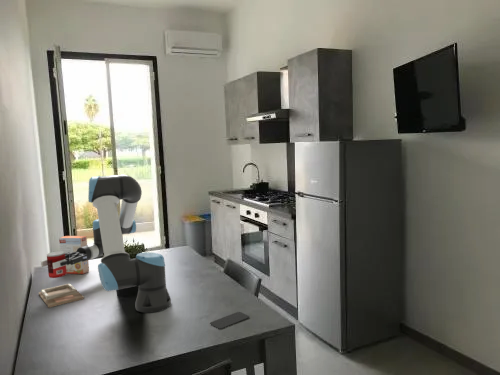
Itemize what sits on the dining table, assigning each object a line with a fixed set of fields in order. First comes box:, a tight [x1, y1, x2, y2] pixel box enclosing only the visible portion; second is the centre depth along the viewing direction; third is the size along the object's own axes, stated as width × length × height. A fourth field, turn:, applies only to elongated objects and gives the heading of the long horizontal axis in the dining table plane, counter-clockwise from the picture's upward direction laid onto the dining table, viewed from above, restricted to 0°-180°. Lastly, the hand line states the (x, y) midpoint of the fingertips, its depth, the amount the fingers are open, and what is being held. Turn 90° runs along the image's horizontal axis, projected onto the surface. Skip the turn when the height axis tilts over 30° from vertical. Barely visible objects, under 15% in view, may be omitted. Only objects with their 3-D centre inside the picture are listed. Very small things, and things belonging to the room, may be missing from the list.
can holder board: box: [38, 283, 85, 309], centre depth 188 cm, size 22×15×2 cm
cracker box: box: [58, 235, 90, 275], centre depth 225 cm, size 14×6×21 cm, turn 77°
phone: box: [209, 311, 250, 330], centre depth 155 cm, size 7×1×15 cm
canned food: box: [46, 250, 67, 279], centre depth 189 cm, size 8×8×11 cm
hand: (47, 265), depth 185 cm, fingers closed on canned food, 8 cm apart
